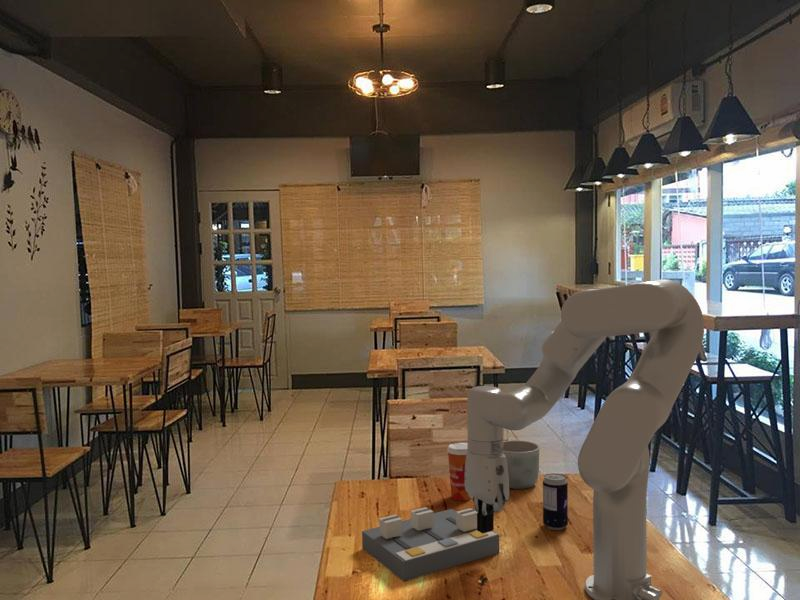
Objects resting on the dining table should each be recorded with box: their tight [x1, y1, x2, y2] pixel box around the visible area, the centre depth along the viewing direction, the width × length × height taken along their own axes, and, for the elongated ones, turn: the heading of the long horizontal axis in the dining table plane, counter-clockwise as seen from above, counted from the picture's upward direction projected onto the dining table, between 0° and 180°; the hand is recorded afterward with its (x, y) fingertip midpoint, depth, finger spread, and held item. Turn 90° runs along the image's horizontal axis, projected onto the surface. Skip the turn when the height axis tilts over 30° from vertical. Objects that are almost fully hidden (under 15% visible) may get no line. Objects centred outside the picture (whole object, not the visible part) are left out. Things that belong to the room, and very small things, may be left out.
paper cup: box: [446, 442, 472, 502], centre depth 179 cm, size 8×8×14 cm
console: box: [361, 508, 500, 582], centre depth 147 cm, size 18×24×4 cm
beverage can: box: [542, 473, 569, 531], centre depth 159 cm, size 6×6×12 cm
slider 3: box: [456, 508, 478, 532], centre depth 148 cm, size 3×4×4 cm
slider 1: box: [378, 514, 403, 539], centre depth 145 cm, size 3×4×4 cm
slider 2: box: [410, 506, 434, 531], centre depth 149 cm, size 3×4×4 cm
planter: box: [503, 439, 540, 490], centre depth 189 cm, size 12×12×11 cm
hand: (485, 530), depth 142 cm, fingers closed
